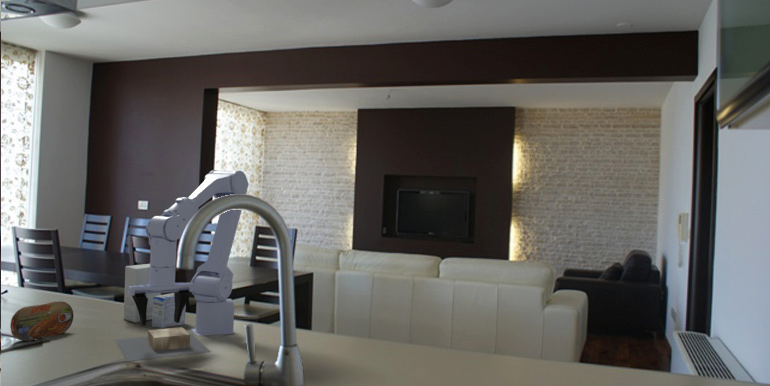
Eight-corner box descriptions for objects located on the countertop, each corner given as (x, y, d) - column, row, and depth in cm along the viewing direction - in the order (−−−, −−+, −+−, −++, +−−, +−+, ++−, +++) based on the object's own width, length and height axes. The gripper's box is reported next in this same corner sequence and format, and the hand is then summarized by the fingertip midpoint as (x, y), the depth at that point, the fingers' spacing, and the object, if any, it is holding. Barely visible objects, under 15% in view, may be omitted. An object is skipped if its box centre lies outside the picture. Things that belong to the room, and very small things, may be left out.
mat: (190, 334, 147) (190, 332, 147) (211, 354, 130) (211, 351, 130) (114, 342, 137) (114, 339, 137) (126, 364, 120) (126, 361, 120)
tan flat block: (147, 342, 136) (181, 339, 140) (153, 350, 129) (189, 347, 133) (148, 330, 136) (182, 327, 140) (154, 337, 129) (190, 334, 133)
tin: (15, 344, 132) (17, 309, 132) (7, 343, 133) (8, 307, 133) (73, 331, 145) (75, 299, 146) (65, 330, 147) (66, 298, 147)
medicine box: (173, 322, 160) (175, 292, 160) (185, 324, 158) (186, 294, 158) (151, 328, 153) (152, 296, 153) (163, 330, 151) (164, 298, 151)
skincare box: (148, 315, 168) (151, 263, 168) (161, 318, 164) (163, 265, 164) (121, 319, 161) (124, 265, 161) (134, 323, 157) (137, 267, 158)
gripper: (188, 263, 141) (185, 317, 141) (126, 265, 132) (123, 323, 132) (197, 266, 135) (195, 322, 135) (133, 269, 127) (130, 329, 126)
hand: (160, 323), depth 133 cm, fingers open, 7 cm apart
